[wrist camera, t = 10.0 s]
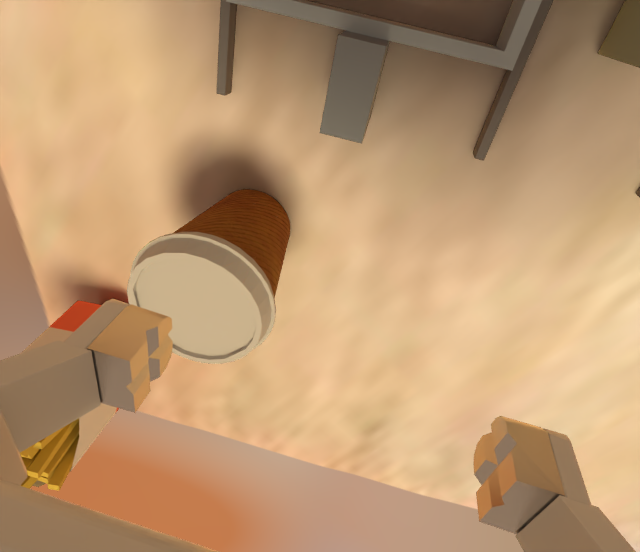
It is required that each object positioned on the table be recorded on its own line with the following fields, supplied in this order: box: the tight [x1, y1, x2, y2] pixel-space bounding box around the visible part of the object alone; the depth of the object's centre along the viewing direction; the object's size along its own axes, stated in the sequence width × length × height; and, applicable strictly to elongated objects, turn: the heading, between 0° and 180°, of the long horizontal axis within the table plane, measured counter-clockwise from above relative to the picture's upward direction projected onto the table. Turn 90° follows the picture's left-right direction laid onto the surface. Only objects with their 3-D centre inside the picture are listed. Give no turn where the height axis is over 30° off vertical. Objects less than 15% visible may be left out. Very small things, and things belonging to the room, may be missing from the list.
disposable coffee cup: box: [127, 189, 290, 364], centre depth 30 cm, size 10×10×12 cm
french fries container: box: [20, 301, 119, 490], centre depth 38 cm, size 5×11×18 cm, turn 176°
